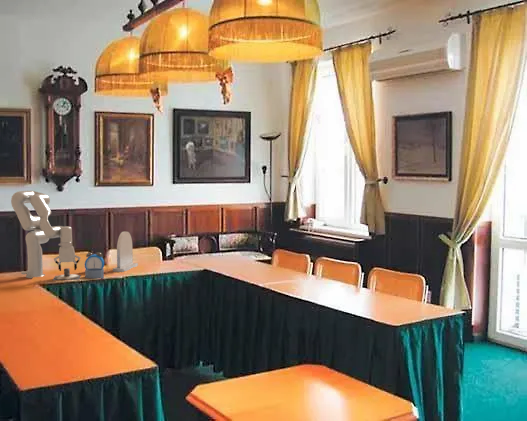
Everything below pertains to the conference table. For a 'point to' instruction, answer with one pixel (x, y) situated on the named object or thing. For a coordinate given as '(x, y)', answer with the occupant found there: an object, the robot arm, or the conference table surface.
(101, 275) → the gray square block
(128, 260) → the award
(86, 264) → the alarm clock
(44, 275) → the robot arm
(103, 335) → the conference table surface
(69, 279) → the mat
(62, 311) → the conference table surface
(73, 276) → the lid
